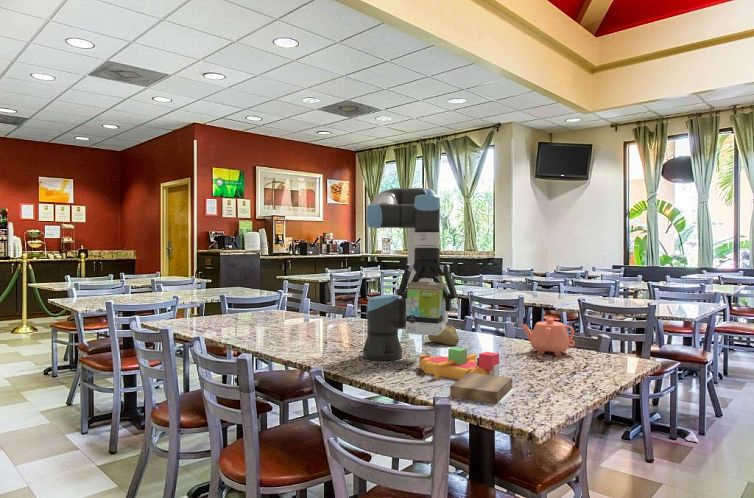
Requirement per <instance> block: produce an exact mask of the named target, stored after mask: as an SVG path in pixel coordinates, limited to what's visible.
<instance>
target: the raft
mask: <svg viewBox="0 0 754 498" xmlns="http://www.w3.org/2000/svg"><path fill="white" fill-rule="evenodd" d="M447 350H448V356H441V355H440V356H435V355H429V354H419V359H418V368H419V370H422V372H423V373H424V374H425V375H429V374H430V375H433V380H440V377H444V378H449V379H452V380H457V381H458V380H459V379H461V378H462V377H464V376H465V375H467V374H468V373H476V374H485V375H493V376H500V353H496V352H491V351H484V352H480V353H479V354H478V355H477V354H476V353H471V354H468V349H467V348H462V347H457V346H454V347H451V348H448V349H447ZM477 356H478V357H477Z"/></svg>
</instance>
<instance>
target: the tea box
mask: <svg viewBox="0 0 754 498" xmlns="http://www.w3.org/2000/svg"><path fill="white" fill-rule="evenodd" d="M442 282H443V281H442ZM443 283H444V284H440V283H435V281H430V282H429V281H419V282H411V283H407V288H408V290H407V312H406V329H405V334H410V335H422V336H428V335H436V336H438V335H439V334H440V333H441V332H442V331H443V330H445V328H446V325H447V324H446V323H447V322H446V323H442V309H443V300H445V298H444V296H443V286H444V285H445V287H446V289H447V290H448V286H447V283H446V282H443Z"/></svg>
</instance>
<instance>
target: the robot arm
mask: <svg viewBox="0 0 754 498" xmlns="http://www.w3.org/2000/svg"><path fill="white" fill-rule="evenodd" d="M440 200H441V198H440V196H439V195H438V194H437V195H436V193H435V191H434V190H433V189H431V188H424V187H420V188H419V187H418V188H417V187H415V188H407V187H406V188H390V189H386V190H383V191H381V192H379V193H377V194H376V195H375V196H374V197H373V199H372V202H371V203H369V204H368V205H367V206H366V226H367V227H368V228H369V229H370V228H372V229H374V228H375V229H387V228H388V229H407V263H406V264H404V266H403V267H404V269H403V270H404V272H403V275H402V278H401V281H400V284H399V287H398V290H397V293H394V294H393V293H392V294H383V295H376V296H373V297H370V298H368V300H367V309H366V312H367V327H366V329H367V330H366V331H367V333H366V334H367V335H366V339H365V343H364V346H363V348H362V358H364V359H366V360H371V361H382V362H383V361H385V362H386V361H395V360H400V359H402V358H403V347H402V345H401V342H400V340H399V330H406V312H407V290H408V283H411V282H419V281H429V282H431V279H432V281H433V282H435V283H440V284H444V283H447V289H446V287H445V285H444V286H443V296H444V298H445V300H443V309H442V323H448V322H449V312H450V311H451V310H452V300H454V299H455V298H458V293H457V290H456V287H455V284H454V280H453V277H452V274H451V266H450V265H449V264H445V265H443V264H441V263H440V258H441V257H440V255H441V254H440V253H441V251H440V250H441V249H440V248H439V246H440V245H441V237H440V236H441V234H440V233H441V232H440V229H441V228H440V226H441V225H440V223H441V222H440V221H441V204H440V203H441V201H440ZM440 271H441V272H442V273H443V276H444V279H445V282H444V283H443V280H442V279H441V278H442V277H441V276H440V274H439V272H440ZM399 296H400V297H401V298H400V297H399Z"/></svg>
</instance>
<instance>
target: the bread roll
mask: <svg viewBox="0 0 754 498" xmlns="http://www.w3.org/2000/svg"><path fill="white" fill-rule="evenodd" d="M427 337H428V340H429V341H430V342H434V343H439V344H443V345H446V346H451V347H452V346H454V347H455V346H456V345H458V344H459V341H460V336H459V335H458V331H457V330H456V328H455V327H454V326H452V325H449V324H446V328H445V330H443V331H442V332H441V333H440V334H439V335H438V336H436V335H427Z"/></svg>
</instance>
